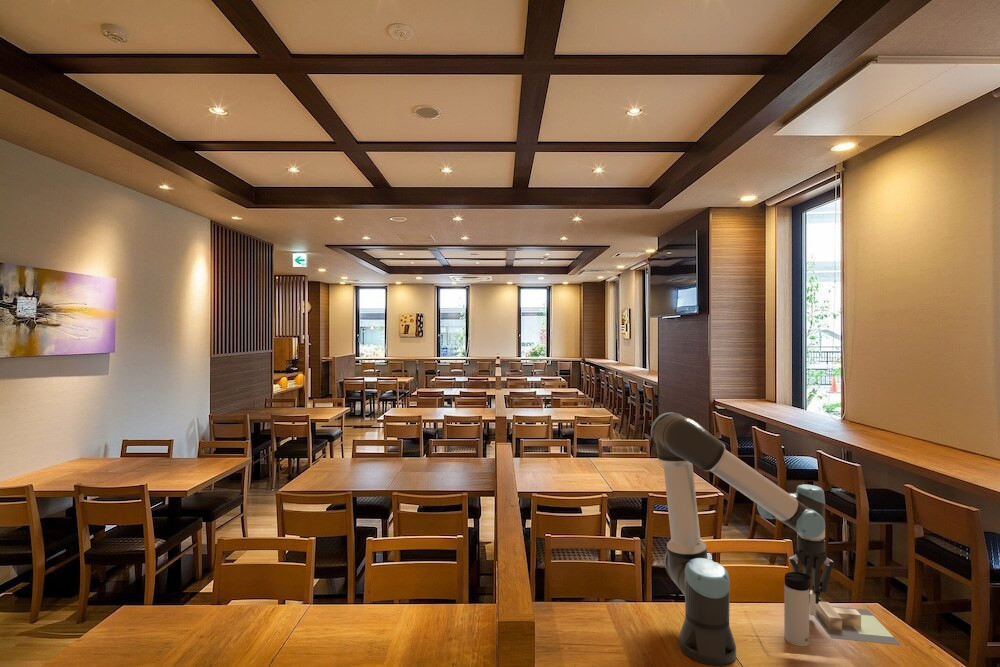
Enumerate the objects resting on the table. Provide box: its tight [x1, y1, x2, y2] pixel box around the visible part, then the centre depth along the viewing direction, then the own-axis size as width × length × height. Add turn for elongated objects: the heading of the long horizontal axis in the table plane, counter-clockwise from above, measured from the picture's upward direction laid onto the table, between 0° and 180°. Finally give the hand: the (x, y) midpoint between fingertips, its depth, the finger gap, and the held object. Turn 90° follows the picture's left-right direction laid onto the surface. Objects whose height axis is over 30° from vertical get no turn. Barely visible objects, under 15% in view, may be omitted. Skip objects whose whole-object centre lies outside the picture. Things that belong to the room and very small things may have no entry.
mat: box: [814, 605, 902, 646], centre depth 164 cm, size 18×20×1 cm
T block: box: [816, 600, 861, 630], centre depth 164 cm, size 10×10×4 cm
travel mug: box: [783, 571, 811, 647], centre depth 155 cm, size 6×7×20 cm
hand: (811, 613), depth 166 cm, fingers closed
